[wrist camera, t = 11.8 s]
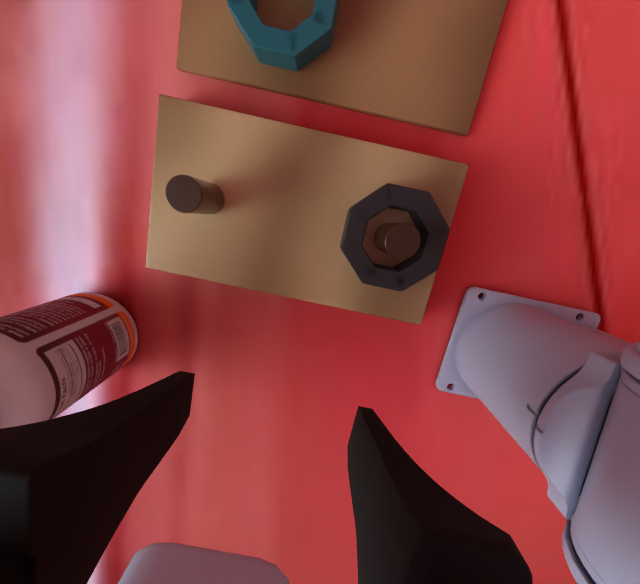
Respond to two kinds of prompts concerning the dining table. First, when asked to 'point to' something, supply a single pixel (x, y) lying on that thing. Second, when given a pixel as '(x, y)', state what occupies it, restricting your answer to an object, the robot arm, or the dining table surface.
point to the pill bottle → (60, 354)
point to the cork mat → (361, 55)
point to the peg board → (284, 207)
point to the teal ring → (286, 34)
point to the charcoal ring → (424, 219)
